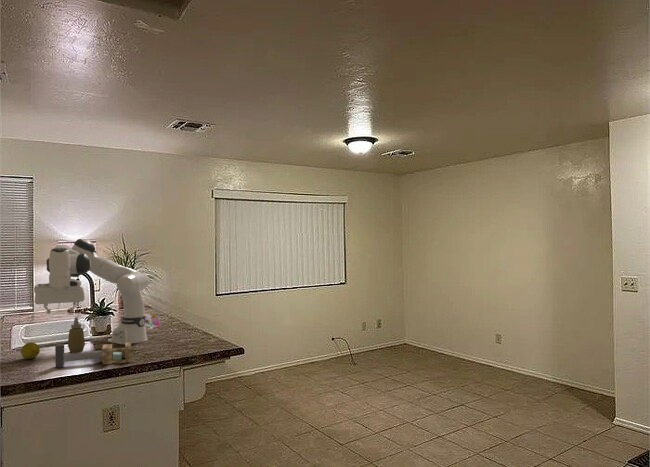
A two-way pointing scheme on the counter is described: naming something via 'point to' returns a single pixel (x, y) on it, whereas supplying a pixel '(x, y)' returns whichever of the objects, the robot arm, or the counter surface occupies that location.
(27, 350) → the lemon
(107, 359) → the bearing block
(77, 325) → the squeeze bottle
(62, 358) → the grey mallet
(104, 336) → the counter surface
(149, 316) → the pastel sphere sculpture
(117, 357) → the spacer
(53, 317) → the counter surface
